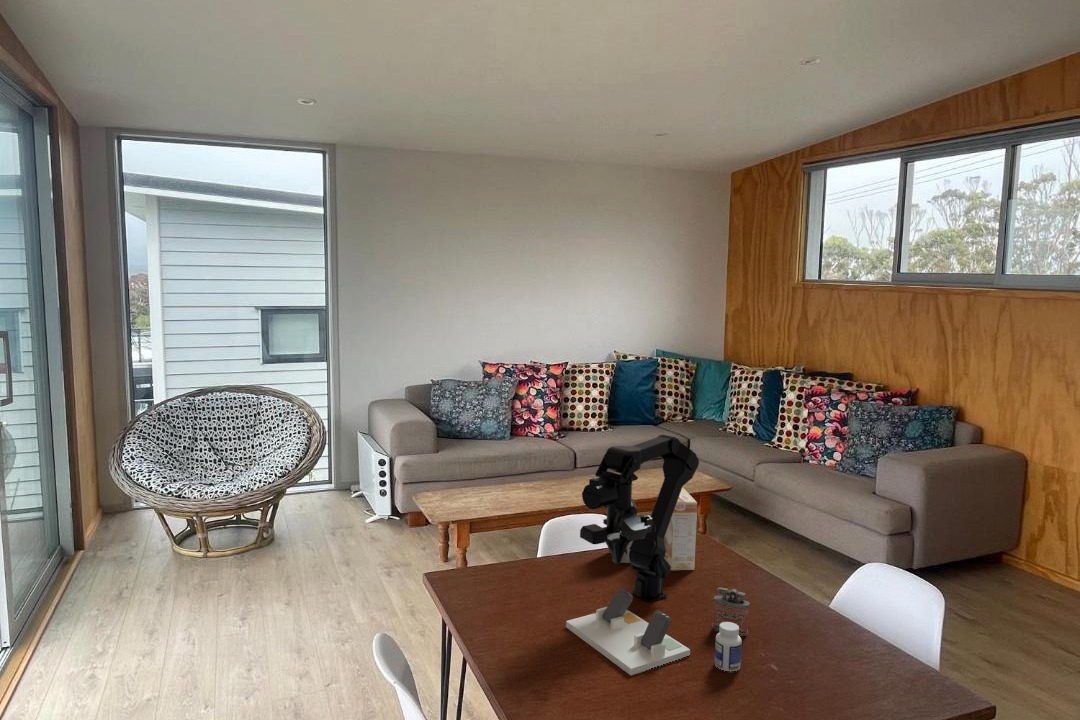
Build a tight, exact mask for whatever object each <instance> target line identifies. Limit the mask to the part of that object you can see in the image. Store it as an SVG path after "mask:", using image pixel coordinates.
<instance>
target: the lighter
mask: <svg viewBox="0 0 1080 720" xmlns="http://www.w3.org/2000/svg"><path fill="white" fill-rule="evenodd" d="M716 593H717V595H715V596H713V602H714V604H713V606H714V609H713V621H712V622H713V623H712V628H713V629H714V630H713V629H712V628H711V629H712V630H713V631H715V630H717V631H716V632H718V631H719V625H720V623H722V622H732V623H735V624H737V625H738V626H739V635H747V634H748V635H749V630H748V629H749V628H748V625H749V612H750V611H749V608H750V606H751V605H750V602H749V601H747V600H745V597H746V593H745V592H742V591H738V590H737V589H736V588H732V589H729V588H725V587H718V588H717V592H716Z"/></svg>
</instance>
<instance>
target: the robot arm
mask: <svg viewBox="0 0 1080 720" xmlns="http://www.w3.org/2000/svg"><path fill="white" fill-rule="evenodd" d="M657 458H661V460H662V461H663V464H662V472H663V477H664V478H663V482H662V485H661V486H660V487H661V490H660V489H659V492H658V496H657V497H656V500H655V503H654V506H653V509H652V511H651V515H649V514H648V515H642V514H640V515H639V514H638V515H637V516H636V513H635V506H632V505H631V500H632V499H633V497H632V496H633V495H632V494H633V482H634V481H638V478H639V476H637V475H636V474H635V472H637V471H640V469H641V466H642V464H644V463H647V462H649V461H651V460H655V459H657ZM699 464H700V461H699V458H698V455H697V454H696V453H695V452H694V451H693V450H692V449H691V448H689V447H688V446H686V445H685V444H684V443H682V442H681V441H680V440H679V439H678V438H677V437H676V436H672V435H667V434H659V435H658V436H657V437H654V438H652V439H649V440H646V441H642V442H640V443H637V444H634V445H632V446H631V445H628V446H627V445H626V446H625V445H619V446H618V445H617V446H610V447H609V448H607V449H606V452H605V454H604V455H603V457H602V460H601V462H600V463H599V465H598V467H597V470H596V472H595V477H597V478H594V477H593V478H589V482H588V484H586V485H585V486H584V488H583V490H582V493H581V497H582V498H581V499H582V501H583V503H584V505H585V507H587V508H588V509H590V510H597V509H600V508H606V518H603V520H602V521H603V522H602V523H603V524H604V525H606V526H605V527H602V526H600V525H598V524H597V523H596V524H595V523H591V524H588V525H582V527H581V528H580V529H579V538H581V539H583V540H584V541H586V542H588V543H590V544H591V545H600V544H606V546H607V549H608V550H609V553H610V555H611V559H612V558H613V559H612V561H613V560H614V562H613V563H614V564H615V565H620V564H621V563H620V562H621V560H622V557H623V555H624V552H625V550H626V547H627V545H628V544H629V542H631V541H633V542H632V545H631V547H630V548H629V549H630V551H629V559H630V563H629V564H630V568H631V570H633V571H635V572H636V578H635V581H634V582H635V585H634V587H635V588H634V590H631V594H632V595H634V596H636V597H638V598H640V599H641V600H643V601H645V602H646V603H651V602H654V601H658V600H661V599H665V598H668V595H667V594H666V593H664V579H666V578H667V576H668V575H670V572H671V570H670V569H671V566H670V565H669V563H668V562H667V561H666V560H665V559H664V557H665V553H666V549H665V543H664V536H665V534H666V531H667V528H668V525H669V523H670V520H671V517H672V514H673V512H674V509H675V506H676V503H677V501H678V498H679V495H680V492H681V489H682V487H683V488H684V486H685V485H686V484H687V483H688V482H689V481H690V480H692V479H693V477H694V475H695V473H696V472H697V470H698V467H699Z"/></svg>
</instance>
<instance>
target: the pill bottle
mask: <svg viewBox="0 0 1080 720" xmlns="http://www.w3.org/2000/svg"><path fill="white" fill-rule="evenodd" d="M742 643H743V641H742V637H740V636H739V626H738V625H737V624H735V623H732V622H722V623H720V625H719V632H718V633H717V634H716V636H715V645H714V665H715V666H714V667H716V668H717V667H718V668H719V669H718V668H717V669H718V670H720V669H721V670H720V671H722V670H724V671H723V672H725V671H730V672H729V673H732V672H731V671H736V672H738V671H740V669H741V664H742V663H741V662H742V645H743V644H742ZM737 670H738V671H737Z"/></svg>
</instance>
